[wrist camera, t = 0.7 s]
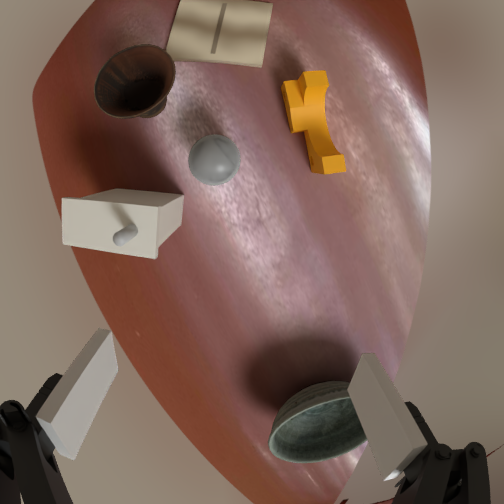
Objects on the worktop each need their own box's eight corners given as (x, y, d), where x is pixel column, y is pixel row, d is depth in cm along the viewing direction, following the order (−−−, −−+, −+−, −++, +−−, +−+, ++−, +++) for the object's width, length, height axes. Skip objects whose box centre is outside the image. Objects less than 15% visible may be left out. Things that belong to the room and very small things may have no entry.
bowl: (265, 363, 44) (269, 406, 35) (379, 351, 44) (401, 387, 35) (263, 431, 50) (266, 468, 41) (356, 420, 51) (368, 453, 41)
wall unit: (114, 185, 35) (44, 203, 20) (187, 192, 35) (146, 213, 20) (112, 218, 36) (46, 253, 21) (183, 227, 37) (144, 270, 22)
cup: (204, 90, 31) (190, 65, 22) (159, 141, 33) (130, 135, 24) (159, 57, 29) (133, 28, 20) (116, 106, 31) (79, 93, 22)
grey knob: (200, 137, 33) (192, 132, 28) (244, 141, 34) (243, 137, 28) (195, 179, 35) (185, 182, 29) (237, 184, 35) (236, 188, 30)
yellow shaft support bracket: (280, 87, 32) (287, 73, 25) (312, 84, 31) (325, 70, 25) (298, 174, 35) (309, 176, 29) (329, 169, 35) (346, 171, 29)
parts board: (182, 1, 26) (181, -2, 25) (272, 6, 27) (273, 3, 26) (165, 61, 30) (163, 58, 29) (261, 67, 30) (262, 65, 29)
